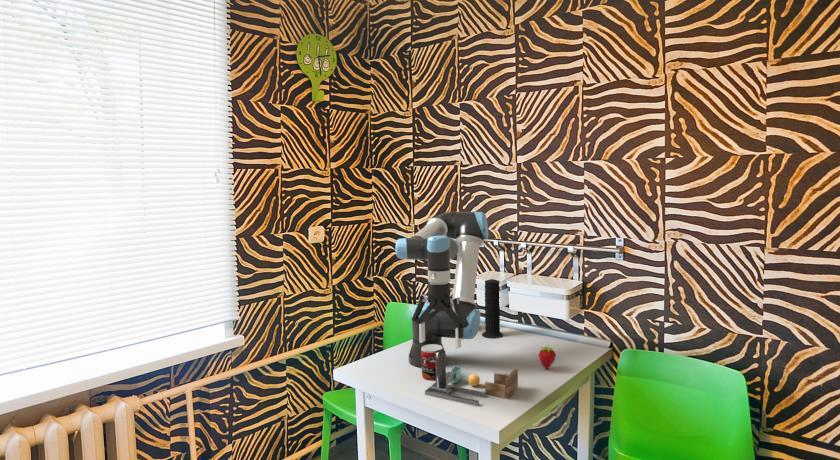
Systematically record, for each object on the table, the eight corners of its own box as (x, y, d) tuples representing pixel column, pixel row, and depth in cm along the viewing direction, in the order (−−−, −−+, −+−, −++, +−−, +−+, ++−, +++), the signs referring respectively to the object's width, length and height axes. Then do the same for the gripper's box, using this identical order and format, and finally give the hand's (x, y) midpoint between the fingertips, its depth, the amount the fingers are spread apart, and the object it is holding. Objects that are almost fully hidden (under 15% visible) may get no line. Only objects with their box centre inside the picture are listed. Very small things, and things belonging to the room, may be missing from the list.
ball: (466, 386, 171) (466, 375, 170) (471, 382, 174) (471, 371, 174) (477, 388, 169) (477, 377, 168) (481, 384, 172) (481, 373, 172)
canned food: (417, 376, 180) (416, 347, 179) (432, 370, 186) (432, 342, 185) (432, 382, 175) (431, 352, 174) (447, 375, 181) (447, 347, 180)
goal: (485, 394, 164) (484, 375, 164) (495, 383, 173) (495, 365, 172) (508, 399, 160) (508, 380, 160) (517, 387, 169) (517, 369, 168)
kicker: (430, 392, 166) (429, 352, 165) (448, 377, 178) (447, 340, 177) (446, 395, 163) (445, 354, 162) (463, 380, 176) (462, 342, 174)
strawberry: (558, 367, 186) (558, 342, 185) (550, 374, 180) (550, 347, 179) (544, 364, 190) (544, 339, 189) (535, 370, 184) (535, 344, 183)
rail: (424, 394, 165) (424, 391, 165) (435, 385, 172) (435, 382, 172) (477, 405, 156) (477, 402, 156) (486, 396, 163) (486, 392, 163)
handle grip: (480, 338, 223) (503, 339, 221) (480, 281, 220) (502, 281, 218) (482, 331, 233) (503, 332, 231) (482, 276, 230) (503, 277, 228)
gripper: (401, 281, 166) (402, 342, 167) (469, 287, 154) (469, 353, 155) (412, 277, 172) (413, 336, 174) (478, 283, 160) (478, 346, 162)
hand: (440, 344), depth 165 cm, fingers open, 13 cm apart
